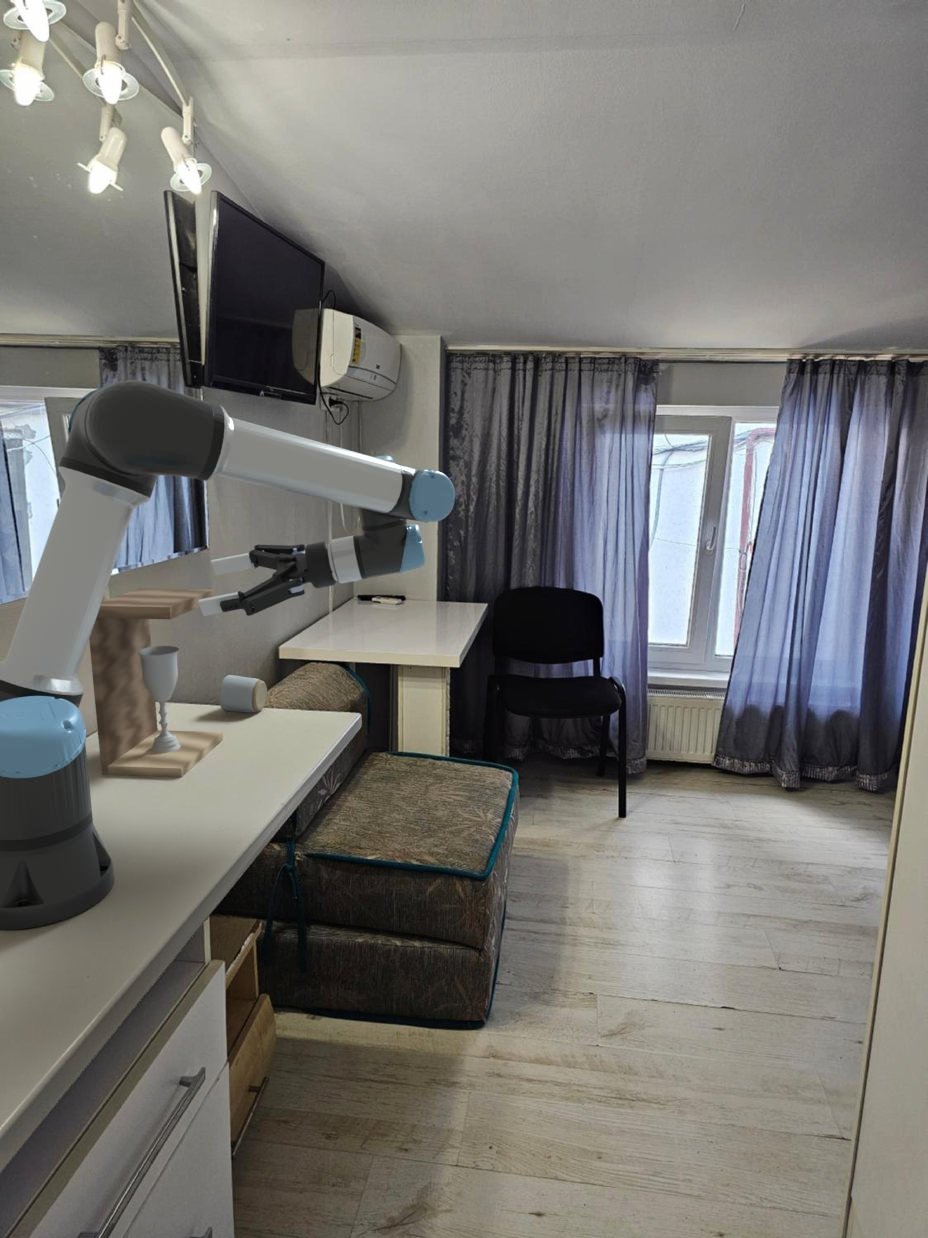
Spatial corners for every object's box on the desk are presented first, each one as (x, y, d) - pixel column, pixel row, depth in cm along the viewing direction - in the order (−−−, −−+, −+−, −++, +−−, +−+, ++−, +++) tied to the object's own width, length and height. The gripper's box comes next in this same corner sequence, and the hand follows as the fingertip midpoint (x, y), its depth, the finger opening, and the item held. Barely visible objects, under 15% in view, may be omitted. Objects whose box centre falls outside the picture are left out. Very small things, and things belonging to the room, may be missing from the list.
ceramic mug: (256, 717, 159) (254, 681, 158) (218, 715, 160) (217, 679, 159) (275, 703, 170) (274, 669, 168) (240, 701, 171) (239, 667, 169)
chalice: (144, 743, 140) (137, 647, 136) (184, 738, 142) (177, 644, 139) (145, 757, 133) (137, 657, 129) (187, 752, 136) (180, 653, 132)
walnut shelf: (181, 776, 129) (169, 607, 123) (101, 774, 130) (86, 605, 124) (223, 739, 146) (214, 589, 140) (152, 737, 147) (140, 588, 142)
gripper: (337, 620, 120) (203, 646, 119) (338, 548, 141) (224, 570, 140) (326, 579, 116) (187, 606, 115) (328, 512, 137) (211, 534, 136)
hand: (207, 587), depth 128 cm, fingers open, 13 cm apart
